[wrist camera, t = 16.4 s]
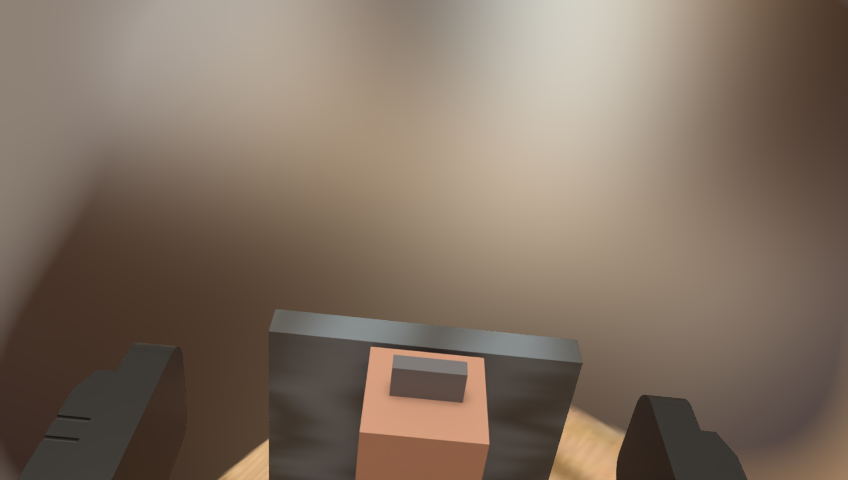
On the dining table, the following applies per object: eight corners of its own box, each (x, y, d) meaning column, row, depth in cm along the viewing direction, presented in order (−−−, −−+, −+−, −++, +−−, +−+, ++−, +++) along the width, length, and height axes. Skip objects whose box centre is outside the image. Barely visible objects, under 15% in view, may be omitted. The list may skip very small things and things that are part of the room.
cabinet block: (449, 530, 39) (489, 331, 32) (449, 622, 35) (495, 416, 28) (354, 522, 39) (373, 319, 32) (343, 613, 35) (362, 403, 28)
